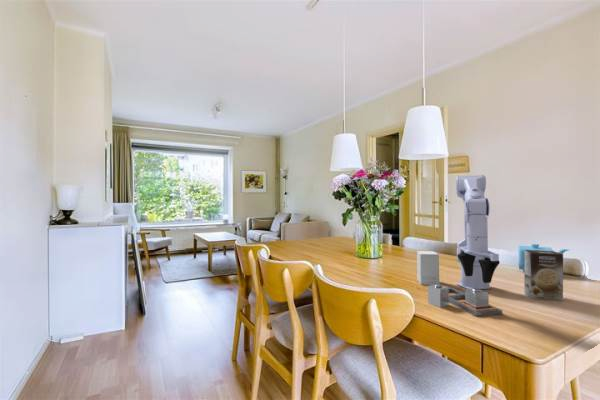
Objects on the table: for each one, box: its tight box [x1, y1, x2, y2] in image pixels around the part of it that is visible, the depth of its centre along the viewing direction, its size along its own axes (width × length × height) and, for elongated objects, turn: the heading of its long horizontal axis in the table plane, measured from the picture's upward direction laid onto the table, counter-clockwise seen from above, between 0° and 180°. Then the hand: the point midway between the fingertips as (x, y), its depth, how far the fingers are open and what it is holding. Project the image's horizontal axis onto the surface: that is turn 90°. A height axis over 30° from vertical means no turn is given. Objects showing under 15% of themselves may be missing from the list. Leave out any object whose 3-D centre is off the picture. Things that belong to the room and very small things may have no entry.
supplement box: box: [416, 250, 440, 286], centre depth 123 cm, size 7×7×13 cm
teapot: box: [517, 243, 569, 274], centre depth 135 cm, size 18×16×13 cm
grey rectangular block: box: [464, 288, 490, 309], centre depth 93 cm, size 4×4×6 cm
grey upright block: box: [427, 283, 450, 309], centre depth 99 cm, size 4×4×6 cm
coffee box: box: [523, 250, 564, 302], centre depth 103 cm, size 9×6×16 cm
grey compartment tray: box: [449, 286, 503, 317], centre depth 100 cm, size 9×23×2 cm, turn 9°
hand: (477, 279), depth 93 cm, fingers open, 7 cm apart
